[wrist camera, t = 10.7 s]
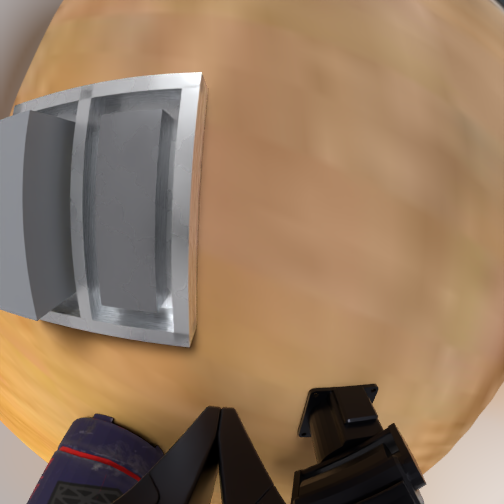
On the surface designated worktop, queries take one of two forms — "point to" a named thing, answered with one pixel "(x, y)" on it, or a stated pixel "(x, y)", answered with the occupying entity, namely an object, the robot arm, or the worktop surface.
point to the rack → (133, 204)
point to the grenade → (95, 464)
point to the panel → (35, 213)
